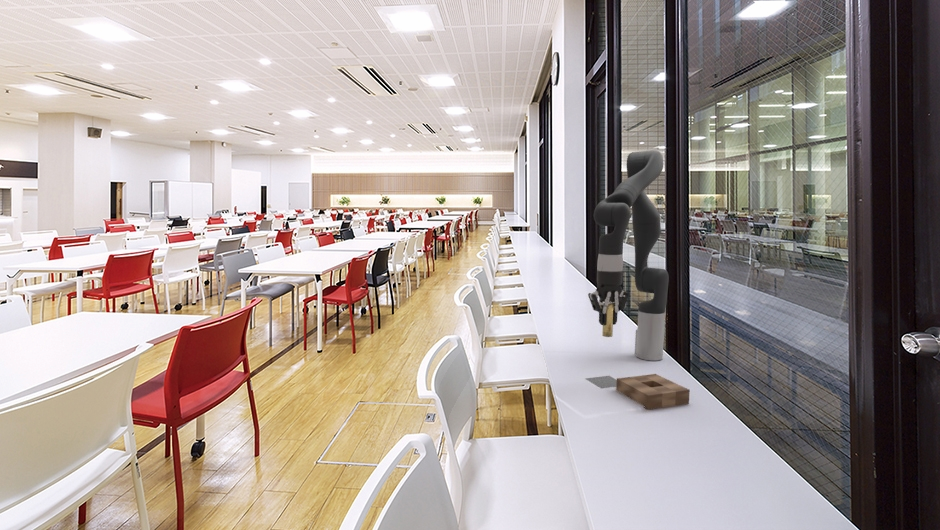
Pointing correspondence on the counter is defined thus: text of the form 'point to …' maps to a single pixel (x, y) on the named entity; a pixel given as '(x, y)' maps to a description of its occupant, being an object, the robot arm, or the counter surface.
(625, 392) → the walnut block
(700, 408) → the counter surface
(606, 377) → the rubber mat
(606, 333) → the brass pin
